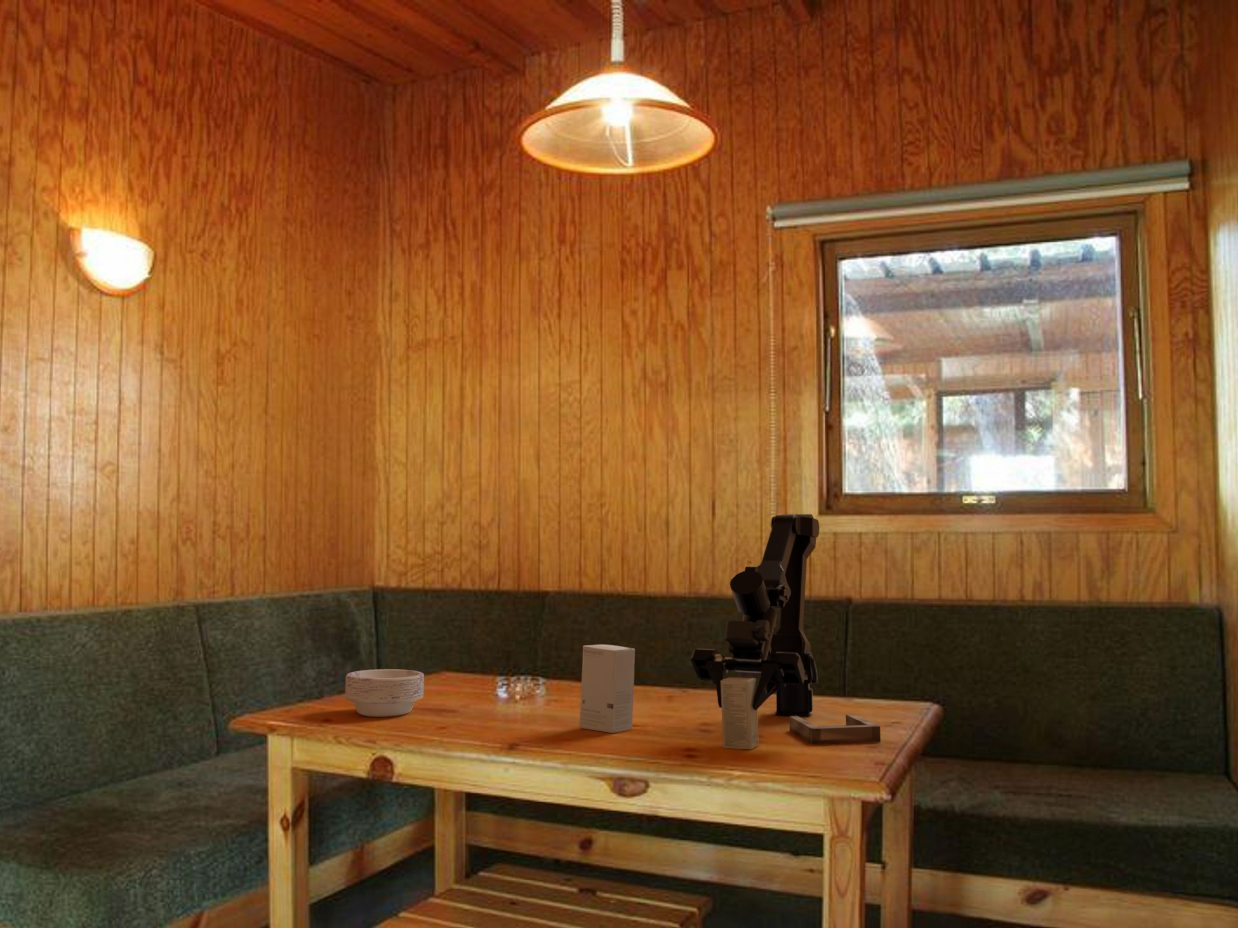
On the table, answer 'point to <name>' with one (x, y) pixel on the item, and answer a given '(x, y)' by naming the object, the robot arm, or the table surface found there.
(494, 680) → the table surface
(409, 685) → the paper bowls
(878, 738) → the walnut u rest
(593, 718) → the skincare box
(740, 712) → the box
